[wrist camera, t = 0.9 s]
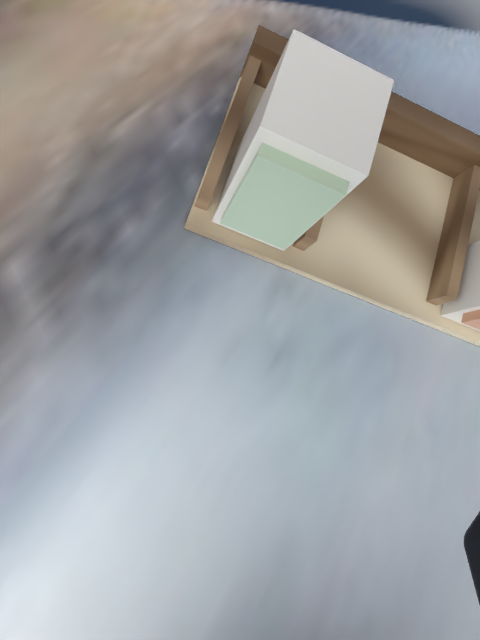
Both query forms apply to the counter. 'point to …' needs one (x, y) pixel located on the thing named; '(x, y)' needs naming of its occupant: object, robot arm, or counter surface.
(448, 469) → the counter surface
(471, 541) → the robot arm
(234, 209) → the white rectangular block
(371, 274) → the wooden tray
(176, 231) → the counter surface
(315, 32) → the counter surface
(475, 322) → the white tall block
